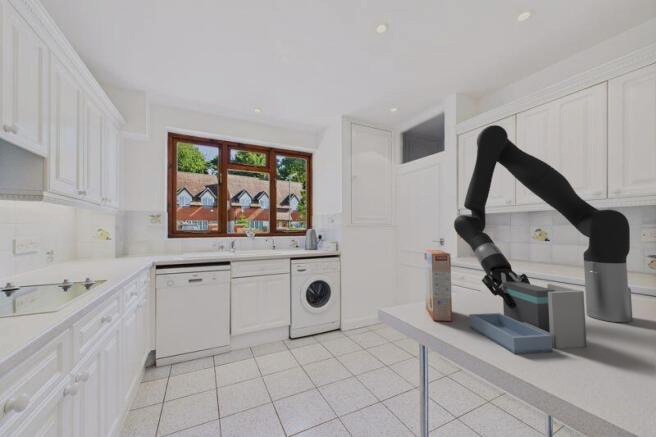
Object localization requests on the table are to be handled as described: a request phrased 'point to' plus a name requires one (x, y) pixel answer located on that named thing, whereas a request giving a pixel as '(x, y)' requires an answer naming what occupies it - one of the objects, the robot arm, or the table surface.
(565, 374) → the table surface
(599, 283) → the robot arm
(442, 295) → the cracker box
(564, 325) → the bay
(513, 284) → the teal-striped grey block
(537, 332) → the tray
